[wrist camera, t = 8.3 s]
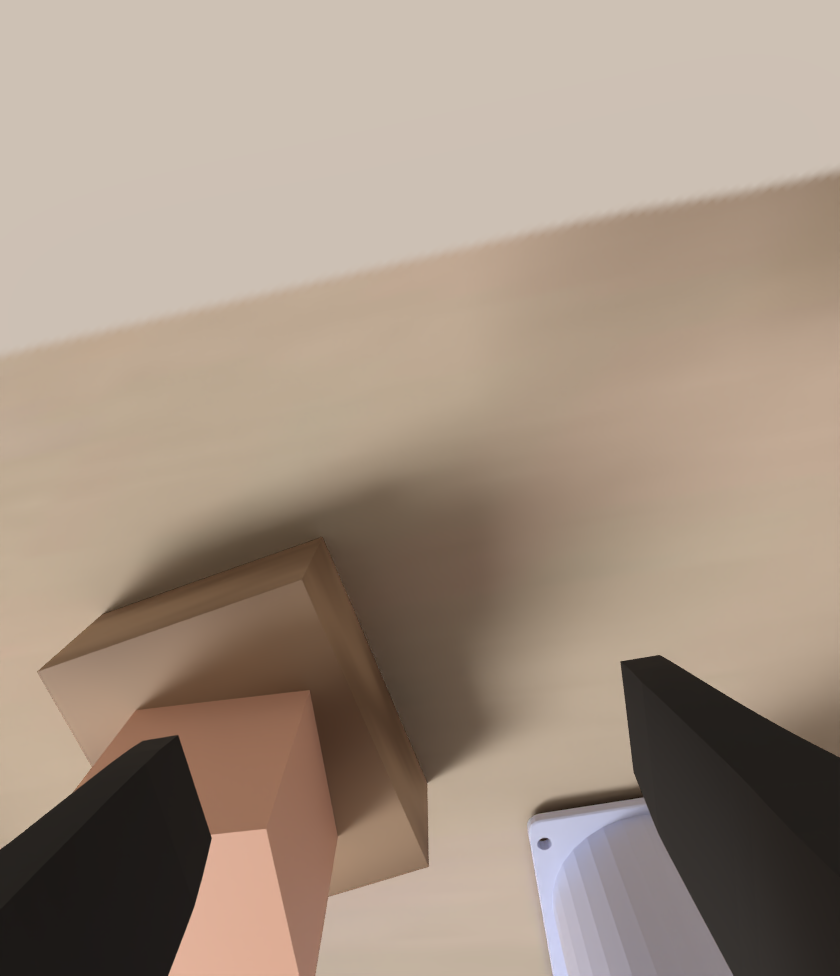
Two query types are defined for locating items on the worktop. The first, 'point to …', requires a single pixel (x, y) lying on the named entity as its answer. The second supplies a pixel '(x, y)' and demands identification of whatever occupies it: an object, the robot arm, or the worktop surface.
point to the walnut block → (263, 690)
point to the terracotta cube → (251, 831)
